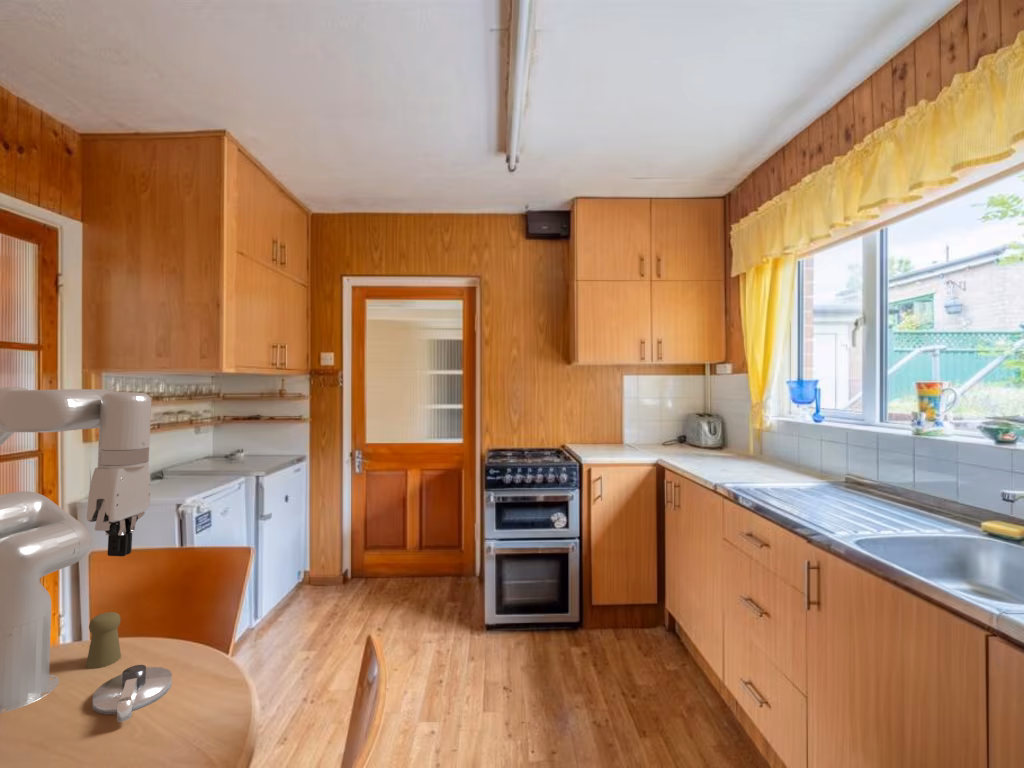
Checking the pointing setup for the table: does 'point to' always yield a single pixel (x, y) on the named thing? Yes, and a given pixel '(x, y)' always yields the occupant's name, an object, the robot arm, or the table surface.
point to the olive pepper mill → (104, 640)
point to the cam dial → (131, 691)
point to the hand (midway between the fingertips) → (119, 554)
